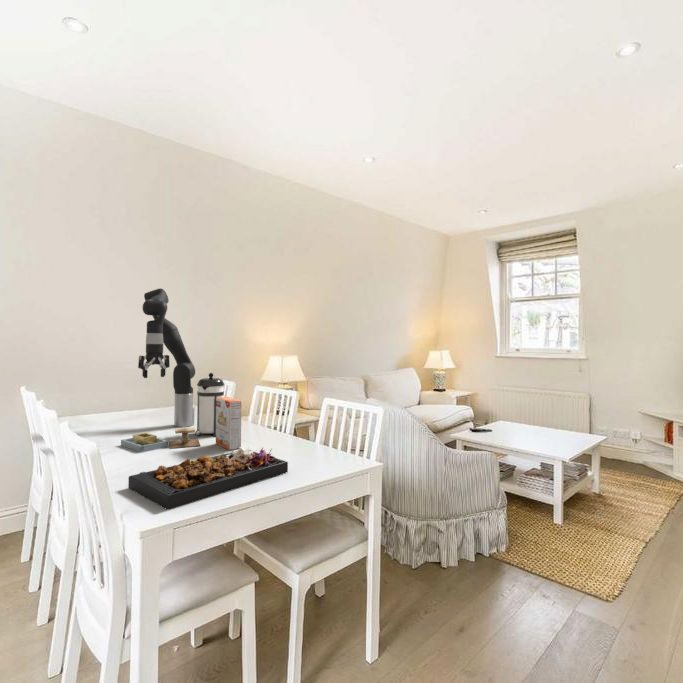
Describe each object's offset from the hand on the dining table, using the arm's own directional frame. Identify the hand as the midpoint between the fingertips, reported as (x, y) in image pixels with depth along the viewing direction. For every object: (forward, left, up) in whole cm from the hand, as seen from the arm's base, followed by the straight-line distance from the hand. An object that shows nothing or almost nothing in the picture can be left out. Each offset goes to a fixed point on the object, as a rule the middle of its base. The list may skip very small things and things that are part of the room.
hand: (154, 377), depth 200 cm
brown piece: (-2, +23, -28) cm, 36 cm away
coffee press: (-22, +14, -28) cm, 38 cm away
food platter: (+19, +71, -29) cm, 79 cm away
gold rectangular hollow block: (+11, +13, -28) cm, 32 cm away
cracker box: (-12, +40, -28) cm, 50 cm away
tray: (+11, +13, -28) cm, 33 cm away
